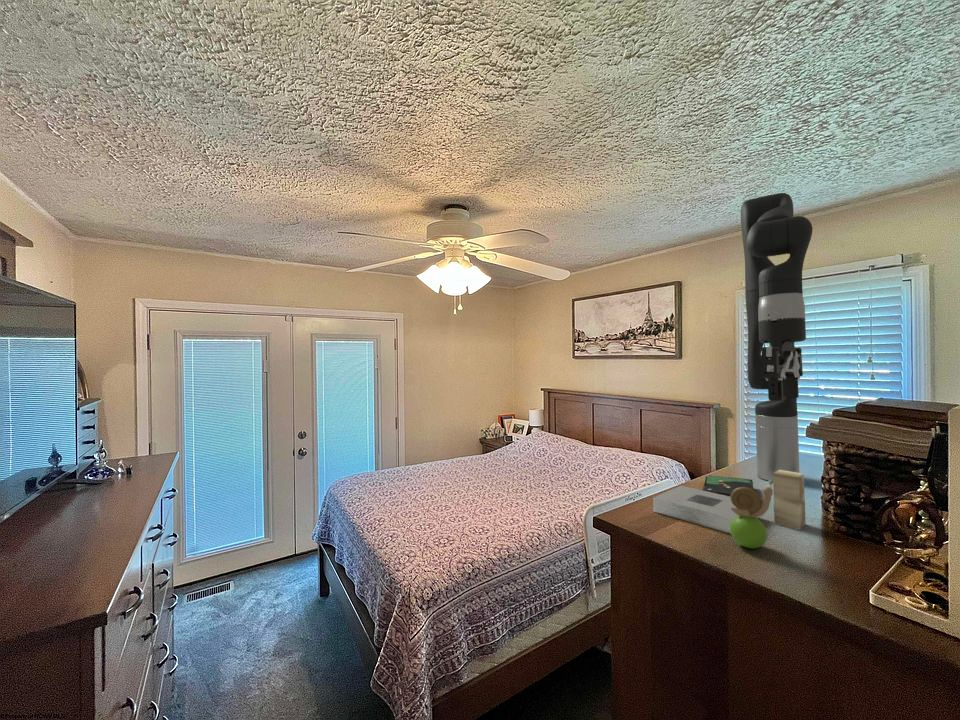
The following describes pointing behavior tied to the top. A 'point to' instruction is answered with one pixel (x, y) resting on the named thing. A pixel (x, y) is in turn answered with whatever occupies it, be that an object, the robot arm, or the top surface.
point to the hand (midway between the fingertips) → (783, 399)
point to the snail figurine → (749, 516)
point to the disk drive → (725, 484)
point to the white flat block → (697, 507)
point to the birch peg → (789, 499)
